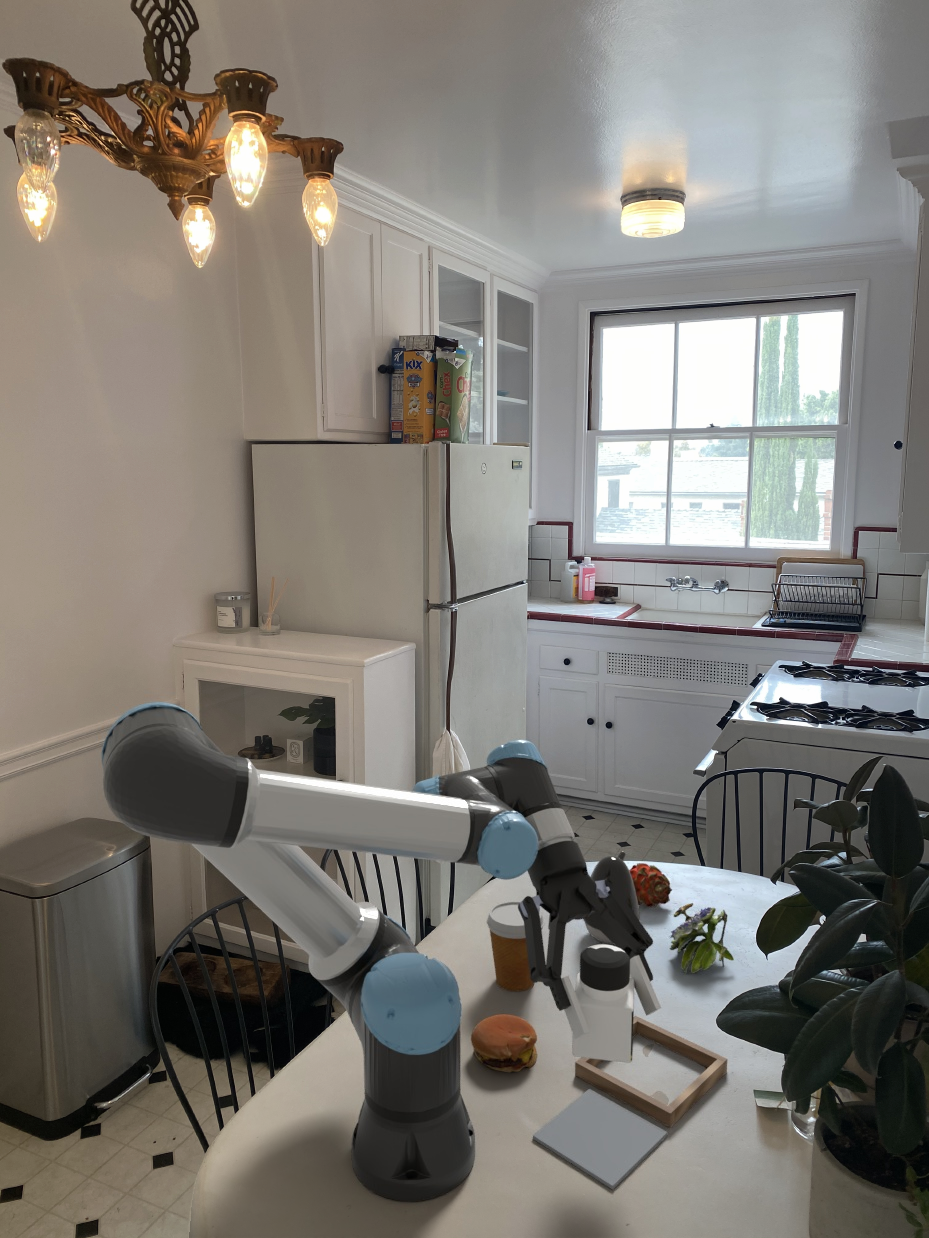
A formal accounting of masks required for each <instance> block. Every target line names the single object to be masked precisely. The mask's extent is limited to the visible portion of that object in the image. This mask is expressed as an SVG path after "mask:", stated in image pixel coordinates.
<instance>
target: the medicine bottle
mask: <svg viewBox="0 0 929 1238" xmlns="http://www.w3.org/2000/svg"><path fill="white" fill-rule="evenodd" d="M574 991H575V994H576V997H577V999H578V1002H579V1004H580V1007H581V1010H582V1012H583V1015H584V1018H585V1020H586V1023H587V1026H588V1028H589V1031H590V1032H588V1033H587V1034H585V1035H584V1036H582V1037H581V1038H578V1039H575V1038H574V1035H573V1032H572V1031H571V1032H572V1036H571V1037H572V1041H571V1042H572V1043H571V1044H572V1046H571V1047H572V1051H571V1053H572V1056H574V1057H576V1058H581V1057H583V1058H592V1059H600V1060H603V1061H609V1062H610V1061H611V1062H617V1063H618V1062H619V1063H625V1064H631V1063H632V1062H633V1051H634V1050H633V1049H634V1048H633V1046H634V1045H633V1044H634V1036H633V1020H634V1016H635V1015H634V1009H635V987H634V979H633V978H630V958H629V956H628V955H627V953H626V952H625V951H623V950H622V949H620V948H618V947H617V946H616V945H613V944H606V943H602V944H601V943H600V944H599V943H598V944H593V945H591V946H587V947H586V948H585V949H583V951H581V953H580V955H579V972H578V973H577V975H576V981H575V987H574Z"/></svg>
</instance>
